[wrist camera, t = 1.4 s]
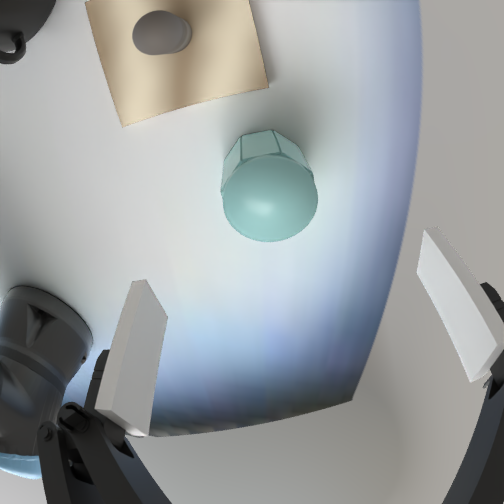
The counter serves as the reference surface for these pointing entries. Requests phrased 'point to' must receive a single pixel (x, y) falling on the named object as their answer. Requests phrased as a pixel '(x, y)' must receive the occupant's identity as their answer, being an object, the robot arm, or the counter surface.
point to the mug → (20, 25)
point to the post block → (175, 53)
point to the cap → (268, 187)
